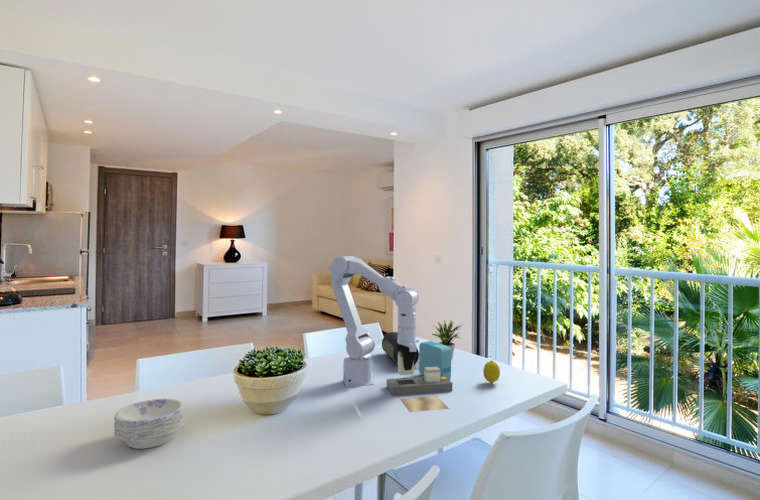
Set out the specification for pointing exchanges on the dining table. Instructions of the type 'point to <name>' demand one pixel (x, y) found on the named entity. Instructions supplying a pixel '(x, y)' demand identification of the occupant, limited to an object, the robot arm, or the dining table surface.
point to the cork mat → (423, 403)
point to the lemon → (491, 371)
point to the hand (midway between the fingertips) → (406, 368)
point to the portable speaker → (393, 346)
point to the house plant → (447, 335)
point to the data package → (435, 357)
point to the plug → (401, 366)
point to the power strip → (417, 386)
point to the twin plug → (431, 374)
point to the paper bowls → (149, 422)
